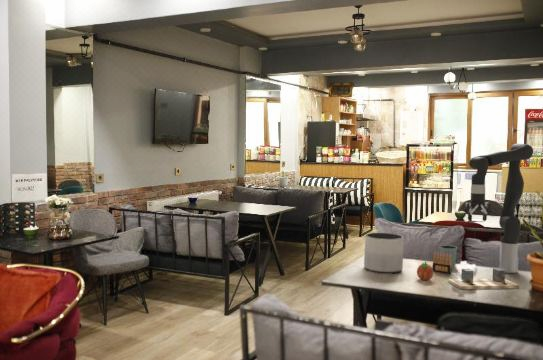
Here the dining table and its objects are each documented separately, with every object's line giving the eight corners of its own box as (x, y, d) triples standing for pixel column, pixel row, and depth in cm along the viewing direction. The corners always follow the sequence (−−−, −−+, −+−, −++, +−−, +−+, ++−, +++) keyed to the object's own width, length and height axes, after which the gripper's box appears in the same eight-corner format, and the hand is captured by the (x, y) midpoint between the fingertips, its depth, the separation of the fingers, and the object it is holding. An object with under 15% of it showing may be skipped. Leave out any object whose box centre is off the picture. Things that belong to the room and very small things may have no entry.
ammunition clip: (451, 273, 300) (452, 253, 299) (450, 274, 298) (451, 253, 297) (432, 270, 306) (433, 250, 305) (431, 271, 304) (432, 251, 303)
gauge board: (503, 280, 286) (504, 266, 285) (518, 288, 272) (519, 273, 271) (448, 282, 281) (448, 267, 281) (461, 289, 267) (461, 274, 267)
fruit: (434, 278, 287) (434, 261, 287) (431, 283, 279) (432, 264, 278) (418, 276, 291) (418, 259, 290) (415, 281, 282) (416, 262, 281)
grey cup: (457, 265, 321) (457, 246, 320) (455, 268, 311) (456, 249, 311) (439, 263, 325) (440, 244, 324) (437, 266, 316) (438, 247, 315)
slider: (468, 279, 280) (468, 268, 280) (476, 283, 272) (476, 272, 272) (461, 279, 279) (461, 268, 279) (468, 283, 271) (469, 272, 271)
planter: (409, 269, 307) (410, 236, 306) (390, 276, 291) (392, 240, 289) (376, 263, 322) (377, 231, 320) (356, 269, 305) (357, 235, 304)
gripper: (486, 191, 299) (485, 219, 300) (462, 192, 296) (462, 220, 298) (493, 192, 291) (492, 221, 292) (469, 193, 289) (468, 222, 290)
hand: (477, 220), depth 295 cm, fingers open, 8 cm apart
